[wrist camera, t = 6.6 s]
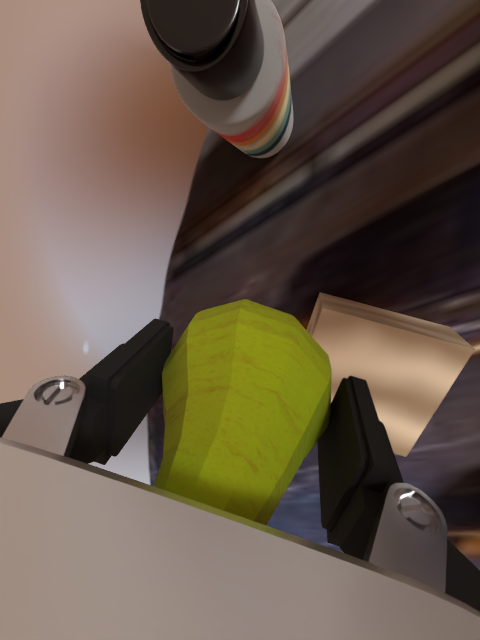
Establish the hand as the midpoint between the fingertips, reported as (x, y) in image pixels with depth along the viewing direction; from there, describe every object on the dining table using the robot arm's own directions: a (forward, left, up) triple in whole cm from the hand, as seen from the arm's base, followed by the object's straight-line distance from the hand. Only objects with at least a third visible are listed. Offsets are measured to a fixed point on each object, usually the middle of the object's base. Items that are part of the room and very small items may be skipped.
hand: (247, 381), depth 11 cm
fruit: (0, 0, -3) cm, 3 cm away
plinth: (+9, +12, -23) cm, 27 cm away
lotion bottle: (-12, -5, -23) cm, 26 cm away
